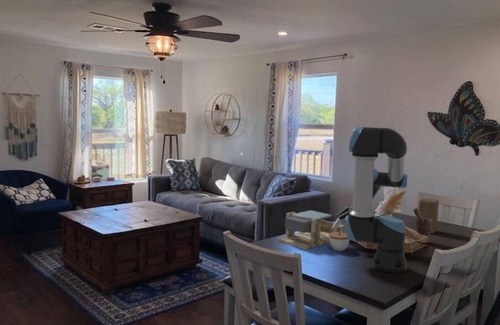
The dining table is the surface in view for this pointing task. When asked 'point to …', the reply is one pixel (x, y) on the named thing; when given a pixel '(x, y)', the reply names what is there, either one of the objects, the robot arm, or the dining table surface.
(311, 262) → the dining table surface
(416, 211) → the mortar and pestle
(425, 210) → the block
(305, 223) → the grey flat box
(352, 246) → the dining table surface
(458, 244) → the dining table surface
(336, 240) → the lidded jar
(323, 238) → the stand
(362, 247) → the dining table surface
